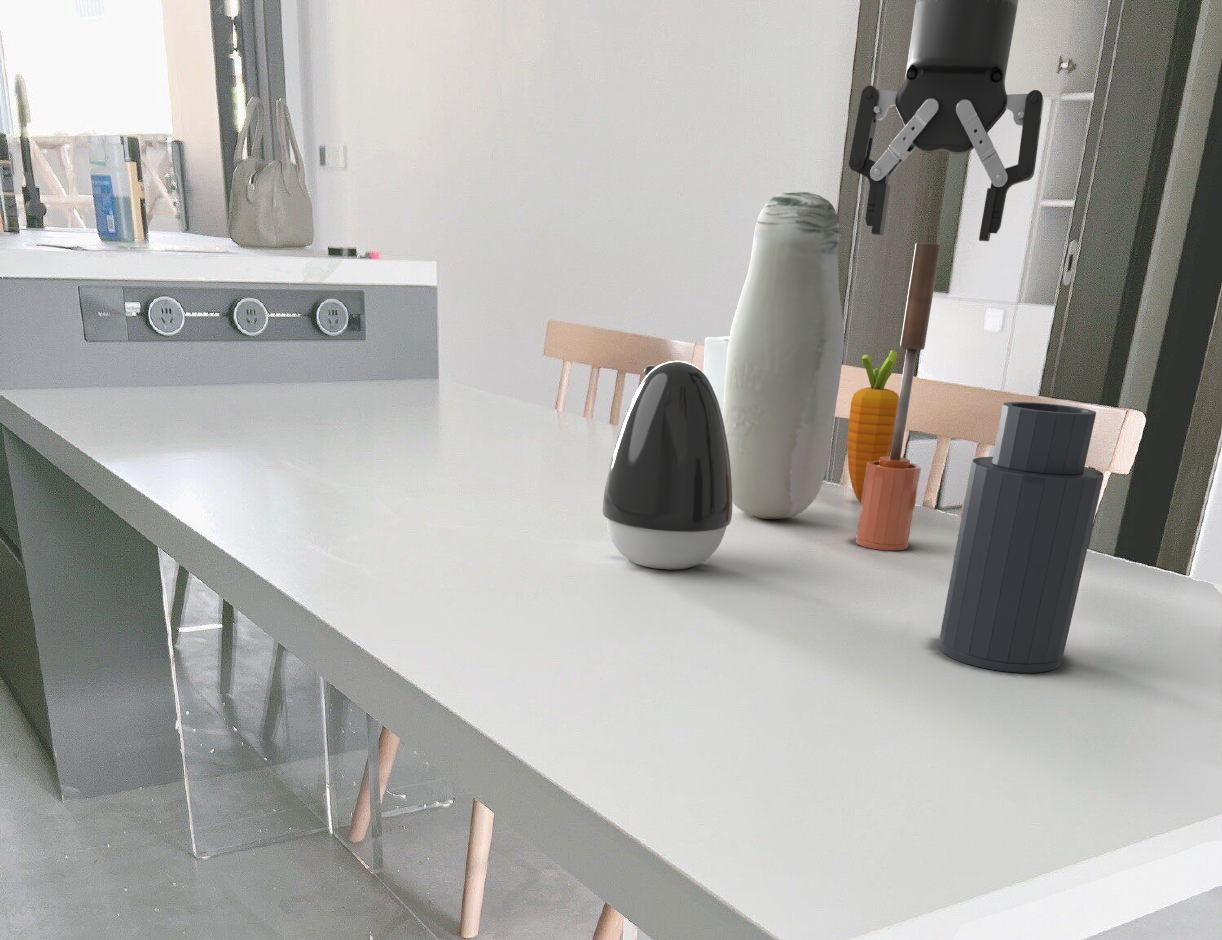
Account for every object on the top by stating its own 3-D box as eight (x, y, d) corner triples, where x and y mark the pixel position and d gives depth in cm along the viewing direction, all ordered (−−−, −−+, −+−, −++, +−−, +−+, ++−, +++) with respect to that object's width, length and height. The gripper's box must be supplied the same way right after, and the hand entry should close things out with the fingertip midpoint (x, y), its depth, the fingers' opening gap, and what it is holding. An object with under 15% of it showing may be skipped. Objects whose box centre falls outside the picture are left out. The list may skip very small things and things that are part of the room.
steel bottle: (1062, 648, 83) (1116, 408, 76) (1060, 680, 76) (1118, 420, 69) (944, 630, 85) (987, 396, 78) (932, 660, 78) (978, 407, 72)
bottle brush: (899, 538, 110) (946, 245, 100) (895, 543, 108) (943, 244, 98) (870, 534, 111) (914, 243, 101) (865, 539, 109) (910, 242, 99)
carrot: (840, 505, 126) (862, 350, 120) (834, 496, 131) (854, 346, 124) (888, 508, 126) (912, 353, 120) (881, 499, 131) (903, 350, 124)
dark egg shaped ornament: (691, 545, 105) (707, 356, 98) (749, 575, 96) (771, 370, 90) (579, 548, 101) (589, 352, 94) (630, 580, 92) (644, 366, 86)
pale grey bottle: (840, 522, 118) (885, 197, 106) (764, 531, 112) (803, 187, 100) (767, 503, 125) (801, 196, 113) (692, 510, 119) (721, 187, 107)
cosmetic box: (782, 482, 137) (798, 340, 130) (742, 486, 133) (758, 340, 127) (730, 470, 142) (744, 333, 136) (691, 473, 139) (704, 332, 133)
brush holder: (910, 543, 111) (923, 464, 108) (904, 553, 107) (917, 471, 104) (860, 536, 112) (871, 458, 109) (851, 546, 108) (863, 465, 105)
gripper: (1066, 11, 94) (1022, 245, 100) (879, 9, 98) (849, 234, 104) (1064, -9, 87) (1018, 242, 94) (865, -10, 91) (834, 231, 98)
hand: (929, 237), depth 99 cm, fingers open, 8 cm apart
